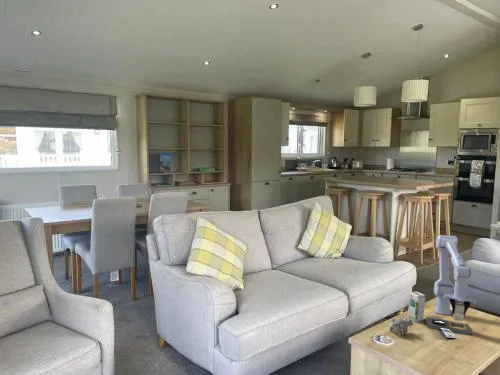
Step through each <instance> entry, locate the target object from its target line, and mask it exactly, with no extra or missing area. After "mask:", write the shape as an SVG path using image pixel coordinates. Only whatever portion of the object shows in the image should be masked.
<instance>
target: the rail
mask: <svg viewBox="0 0 500 375" xmlns="http://www.w3.org/2000/svg"><path fill="white" fill-rule="evenodd" d="M434 321H442V322H444V324H445V326H444V324H443V325H442V324H441V325H440V324H436V323H435V322H434ZM425 322H426V327H427V328H428V329H434V330H439V329H440V328H447V329H449V330H451V331H453V332H452V333H456V334H462V335H466V336H467V335H468V336H472V331H471V328H470V325H469V324H468V323H466V322H465V323H464V322H460V321H455V320H454V321H453V320H446V319H440V318H435V317H429V316H426V317H425Z"/></svg>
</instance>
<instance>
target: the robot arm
mask: <svg viewBox="0 0 500 375" xmlns="http://www.w3.org/2000/svg"><path fill="white" fill-rule="evenodd" d="M458 244H459V240H458V237H457V235H447V234H446V235H445V234H444V235H443V234H438V235H437V236H436V238H435V247H436V250H438V254H439V257H438V260H439V261H438V263H439V278H438V279H437V280H436V281H435V282H434V285H433V293H434V295H435V296H436V299H435V300H436V303H435V305H434V306H433V307H434V312H435V313H436V314H439V315H440V314H441V315H445V316H452V315H453V314H455V304H456V303H455V302H456V301H457V302H458V301H459V302H461V303H463V304H464V317H465V315H466V313H467V311H468V309H469V308H470V307H471V304H474V305H477V299H476V298H473V297H469V296H468V297H467V295H468V284H469V279H470V278H471V275H472V271H471V270H472V268H471V267H470V266H469V265H468V264H466V262H465V259H464V258H463V256H462V255H461V254H459V250H458ZM449 255H450V256H451V257H450V256H449ZM450 261H451V264H452V266H453V268H454V269H453V278H454V282H452V281H451V280H450ZM451 310H452V313H451Z"/></svg>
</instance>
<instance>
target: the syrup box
mask: <svg viewBox="0 0 500 375" xmlns="http://www.w3.org/2000/svg"><path fill="white" fill-rule="evenodd" d="M425 303H426V294H423V293H421V292H418V291H412V292H409V301H408V311H407V312H408V313H407V318H408V320H412V322H416V323H417V322H422V321H424V314H425V313H424V312H425Z"/></svg>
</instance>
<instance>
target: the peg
mask: <svg viewBox="0 0 500 375" xmlns="http://www.w3.org/2000/svg"><path fill="white" fill-rule="evenodd" d="M455 303H456V304H455V314H453V313H452V315H453V316H452V317H453V320H454V321H456V322H464V317H465V316H464V302H458V301H457V302H456V301H455Z"/></svg>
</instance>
